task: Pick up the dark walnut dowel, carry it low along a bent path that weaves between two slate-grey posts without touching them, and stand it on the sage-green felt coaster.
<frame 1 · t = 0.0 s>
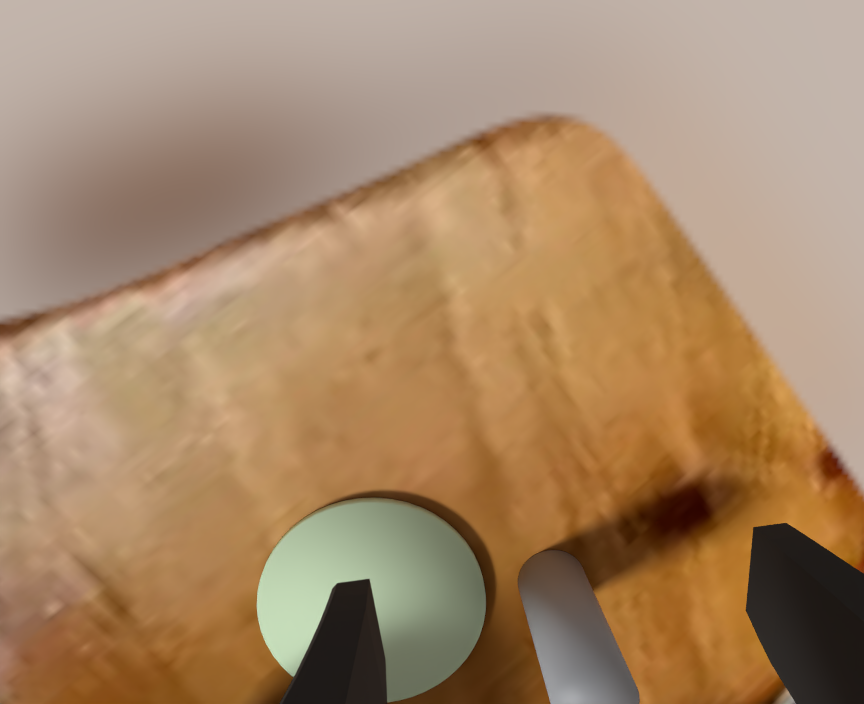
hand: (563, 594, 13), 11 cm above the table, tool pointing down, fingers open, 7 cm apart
coaster: (372, 600, 25), on the table
post b: (551, 580, 25), on the table
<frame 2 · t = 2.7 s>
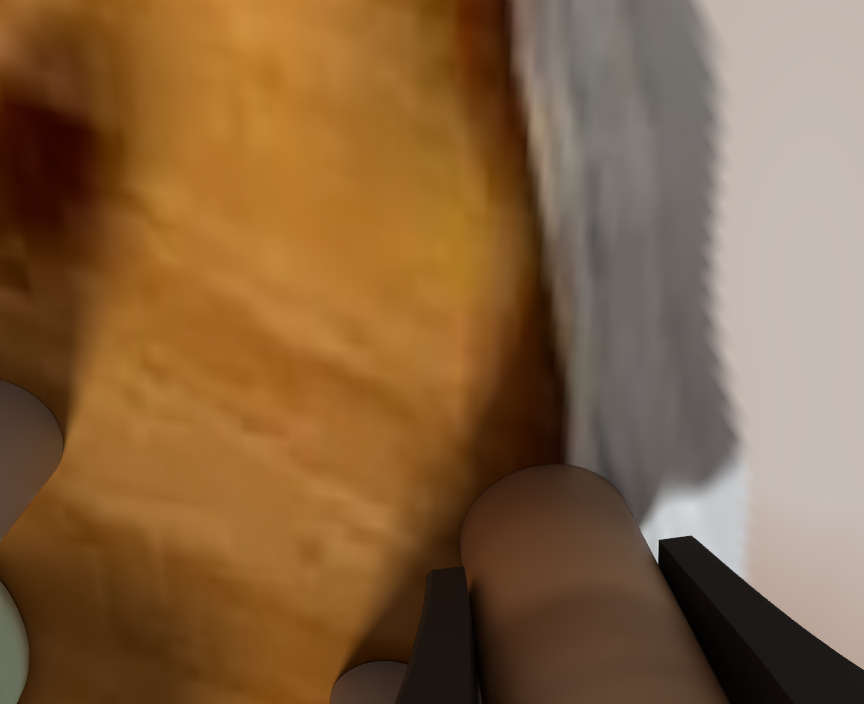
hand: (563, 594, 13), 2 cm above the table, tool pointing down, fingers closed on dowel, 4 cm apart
dowel: (545, 537, 15), on the table, touching gripper
post a: (382, 698, 16), on the table
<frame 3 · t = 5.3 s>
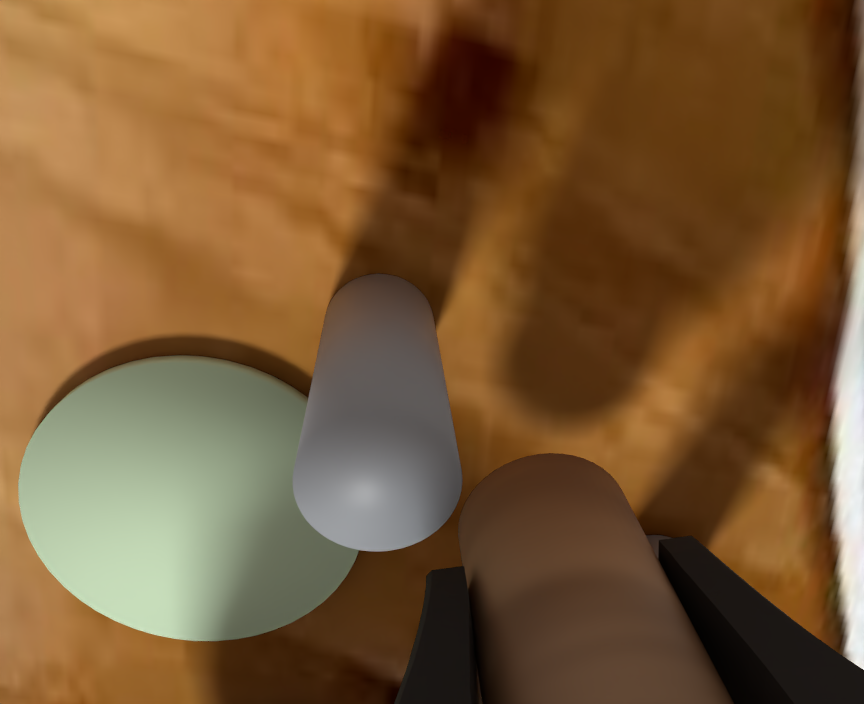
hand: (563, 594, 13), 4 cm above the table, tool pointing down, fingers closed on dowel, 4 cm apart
dowel: (543, 526, 15), point 3 cm above the table, touching gripper
coaster: (200, 505, 17), on the table
post b: (379, 326, 15), on the table
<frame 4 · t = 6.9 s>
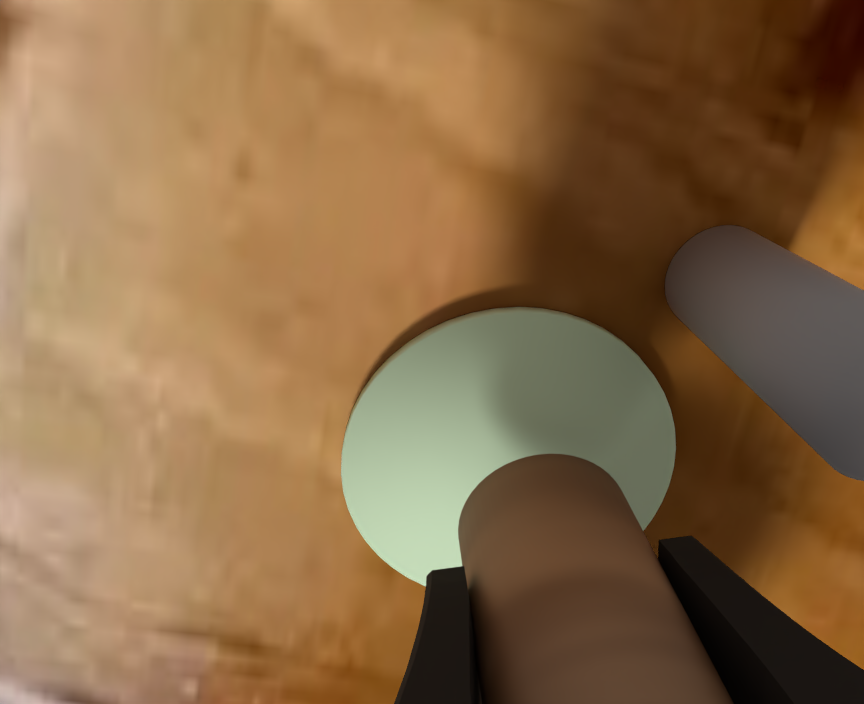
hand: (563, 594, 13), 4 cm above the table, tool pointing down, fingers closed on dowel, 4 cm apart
dowel: (543, 526, 15), point 3 cm above the table, touching gripper
coaster: (507, 461, 17), on the table
post b: (718, 278, 15), on the table
when the fingers open (3 cm above the table, at t = 8.2 s): dowel stays where it is, resting on coaster.
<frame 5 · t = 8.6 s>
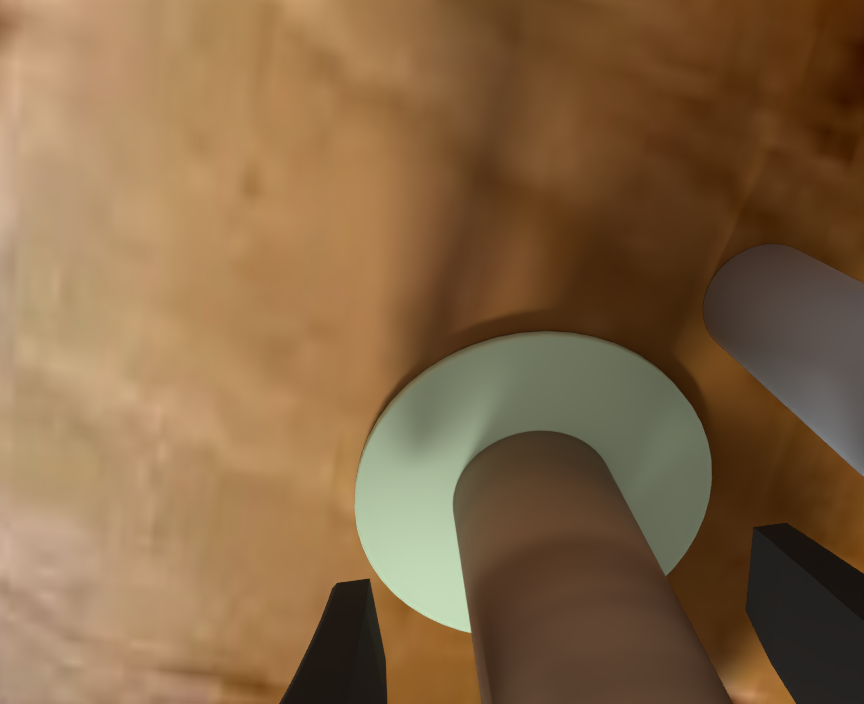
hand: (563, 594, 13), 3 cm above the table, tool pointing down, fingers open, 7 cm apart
dowel: (533, 500, 16), resting on coaster
coaster: (531, 493, 16), on the table
post b: (760, 300, 14), on the table
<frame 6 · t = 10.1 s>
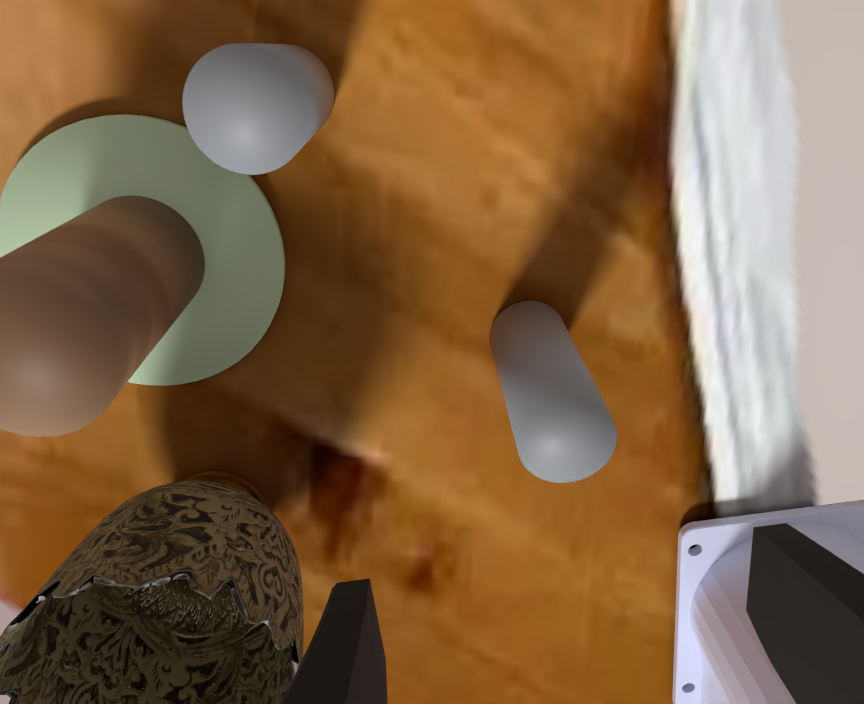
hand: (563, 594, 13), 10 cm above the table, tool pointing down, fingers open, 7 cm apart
dowel: (141, 258, 20), resting on coaster
cup: (221, 504, 24), on the table
coaster: (147, 257, 21), on the table
post b: (289, 92, 19), on the table
post a: (527, 335, 22), on the table
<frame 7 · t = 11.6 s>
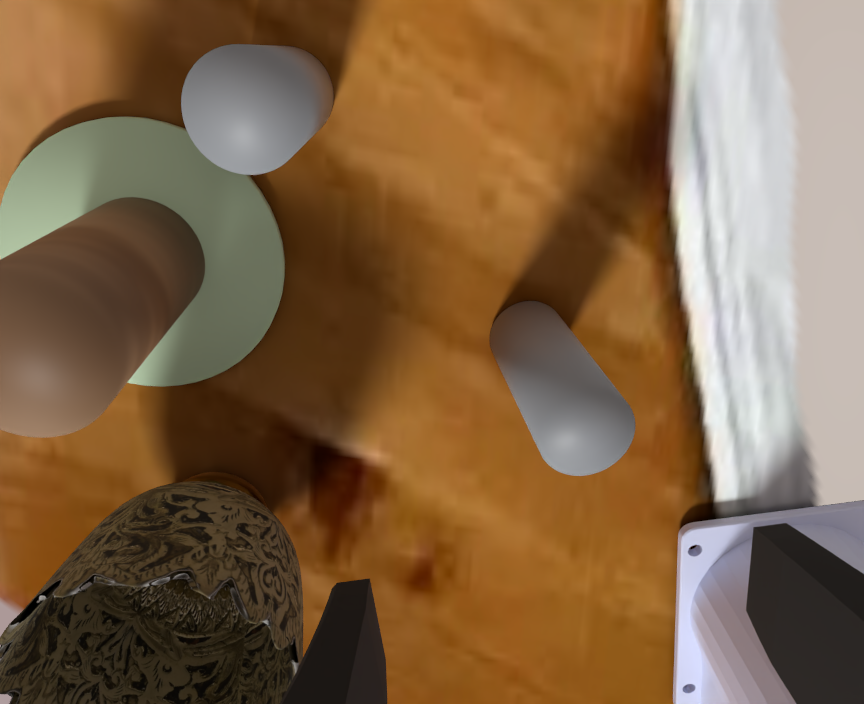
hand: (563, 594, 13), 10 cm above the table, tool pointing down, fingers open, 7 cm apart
dowel: (141, 259, 20), resting on coaster
cup: (221, 504, 24), on the table
coaster: (147, 258, 21), on the table
post b: (289, 94, 19), on the table
post a: (526, 336, 22), on the table
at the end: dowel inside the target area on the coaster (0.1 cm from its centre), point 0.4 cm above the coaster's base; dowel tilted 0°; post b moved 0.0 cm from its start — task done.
